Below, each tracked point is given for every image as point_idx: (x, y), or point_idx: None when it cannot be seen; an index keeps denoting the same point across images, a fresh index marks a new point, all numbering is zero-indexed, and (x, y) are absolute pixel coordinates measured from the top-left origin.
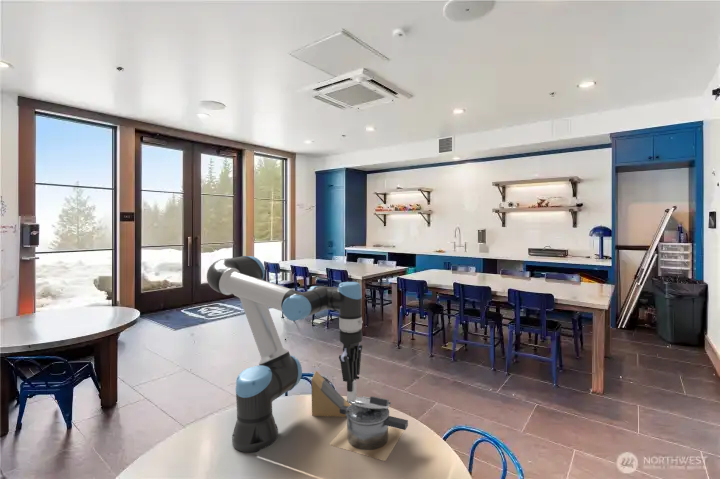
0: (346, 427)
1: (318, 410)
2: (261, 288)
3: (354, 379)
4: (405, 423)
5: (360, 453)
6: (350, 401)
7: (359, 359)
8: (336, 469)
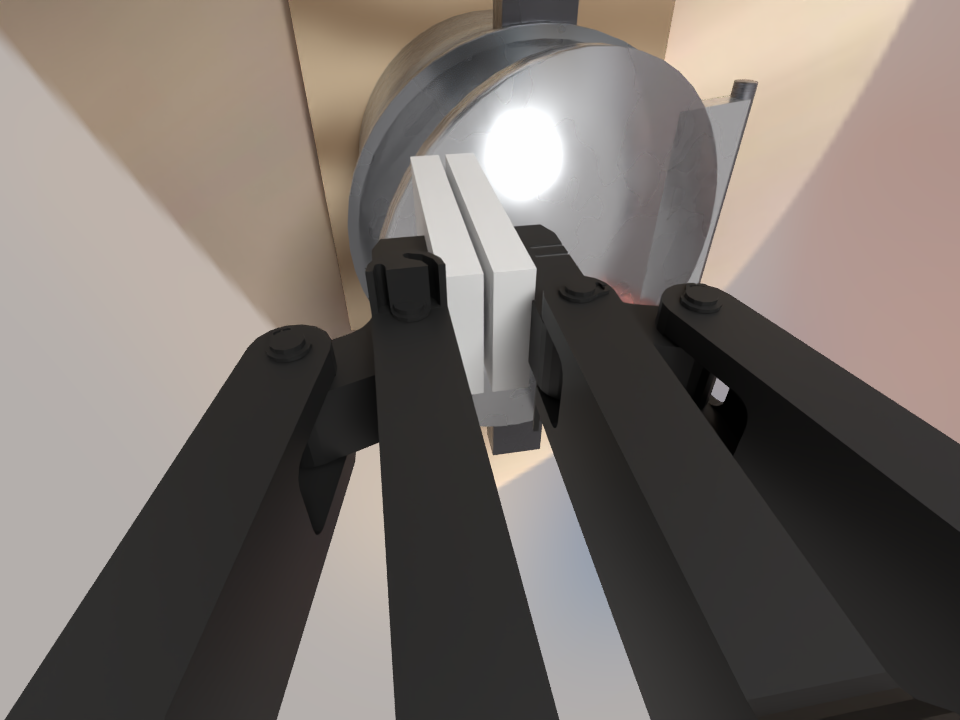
0: None
1: None
2: None
3: (527, 362)
4: (504, 451)
5: (328, 201)
6: (400, 207)
7: (876, 651)
8: (125, 134)
